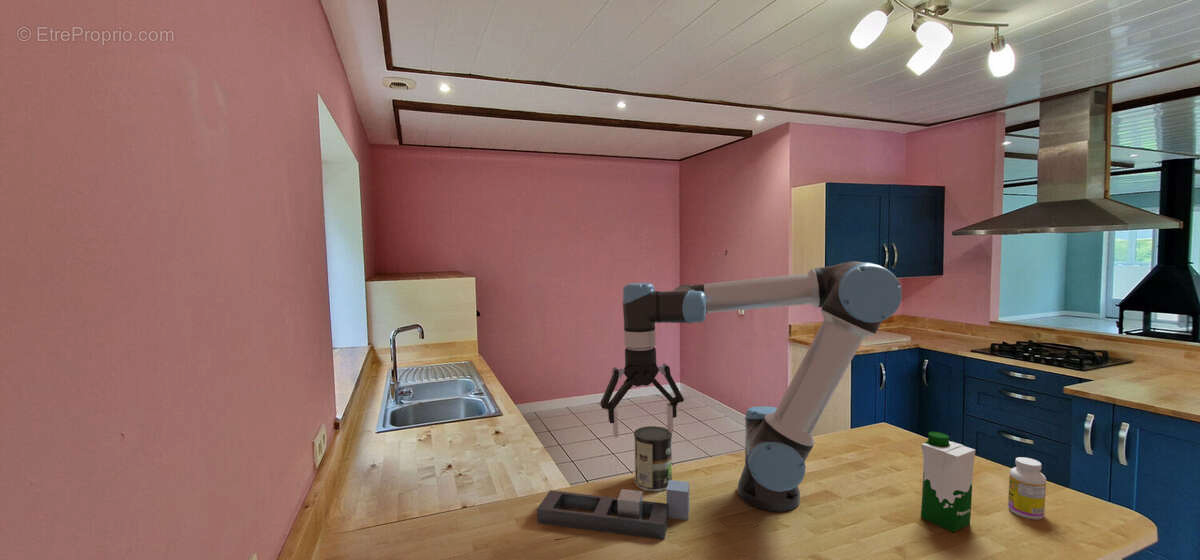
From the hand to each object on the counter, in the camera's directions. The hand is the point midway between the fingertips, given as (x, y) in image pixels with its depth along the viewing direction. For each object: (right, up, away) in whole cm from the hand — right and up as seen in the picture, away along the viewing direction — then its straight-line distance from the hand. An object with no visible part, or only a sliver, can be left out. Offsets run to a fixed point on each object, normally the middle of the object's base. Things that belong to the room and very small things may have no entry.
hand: (643, 433), depth 121 cm
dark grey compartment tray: (-10, -20, -3) cm, 22 cm away
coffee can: (+4, -19, +15) cm, 24 cm away
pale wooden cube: (-3, -20, -5) cm, 21 cm away
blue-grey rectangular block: (+8, -19, 0) cm, 21 cm away
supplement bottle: (+91, -19, -2) cm, 93 cm away
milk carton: (+70, -19, -5) cm, 73 cm away
